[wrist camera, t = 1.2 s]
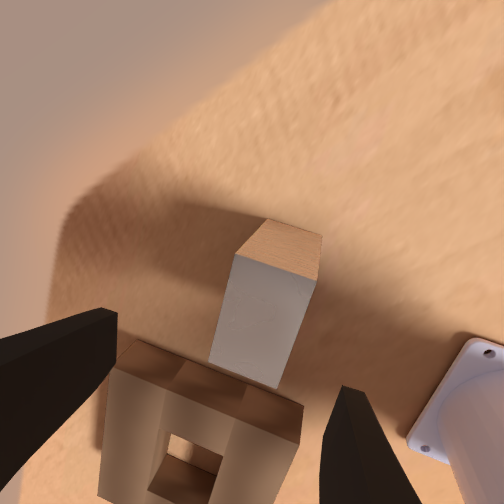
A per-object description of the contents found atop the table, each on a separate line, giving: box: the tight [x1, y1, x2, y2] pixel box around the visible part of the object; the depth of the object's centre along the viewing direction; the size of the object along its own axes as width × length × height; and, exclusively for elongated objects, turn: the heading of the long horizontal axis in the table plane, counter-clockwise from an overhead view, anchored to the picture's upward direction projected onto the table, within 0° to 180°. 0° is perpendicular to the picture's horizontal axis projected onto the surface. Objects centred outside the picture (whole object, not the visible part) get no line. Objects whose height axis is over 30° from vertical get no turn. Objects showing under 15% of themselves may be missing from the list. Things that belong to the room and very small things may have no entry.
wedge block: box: [208, 219, 322, 389], centre depth 14 cm, size 3×5×6 cm, turn 165°
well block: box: [97, 340, 304, 504], centre depth 21 cm, size 12×13×3 cm
